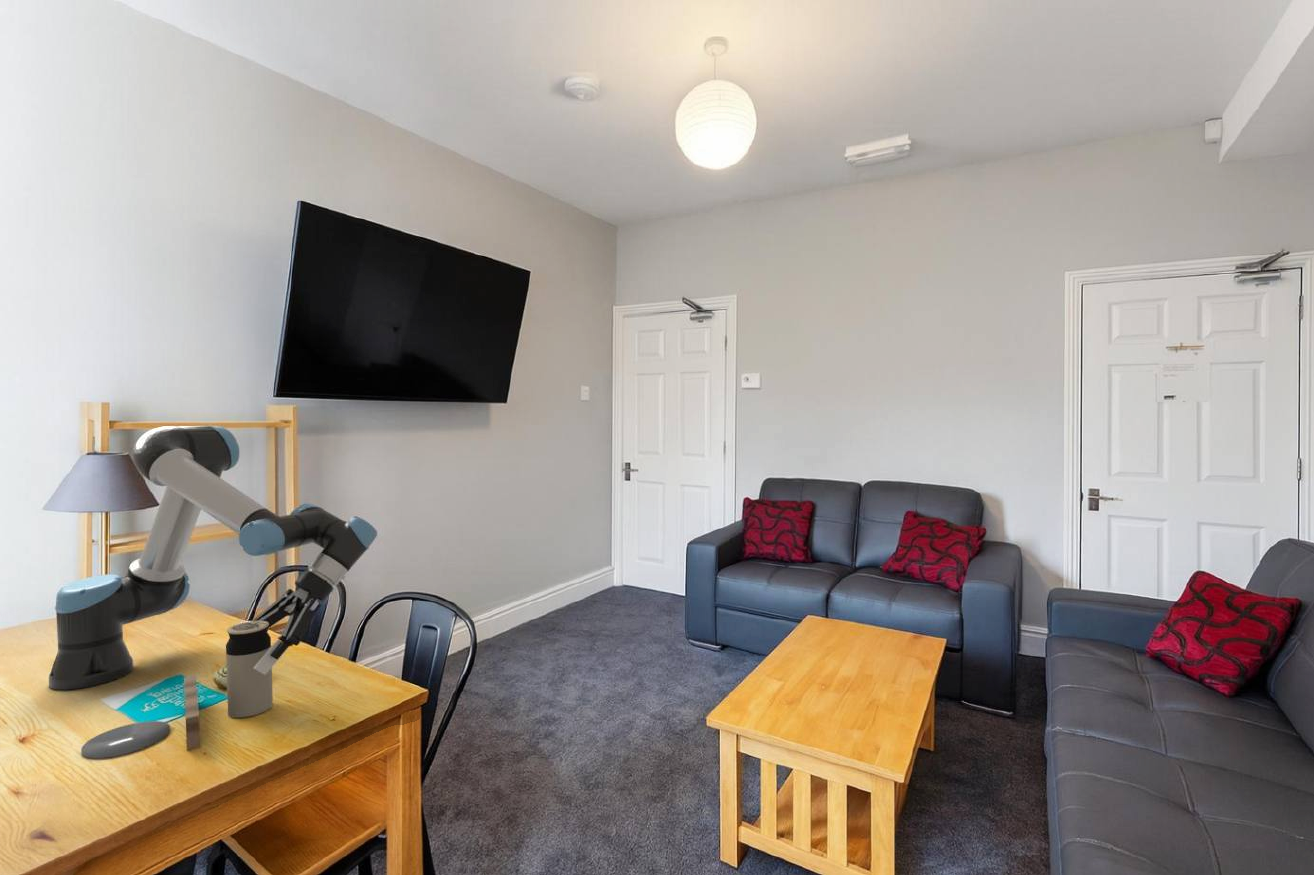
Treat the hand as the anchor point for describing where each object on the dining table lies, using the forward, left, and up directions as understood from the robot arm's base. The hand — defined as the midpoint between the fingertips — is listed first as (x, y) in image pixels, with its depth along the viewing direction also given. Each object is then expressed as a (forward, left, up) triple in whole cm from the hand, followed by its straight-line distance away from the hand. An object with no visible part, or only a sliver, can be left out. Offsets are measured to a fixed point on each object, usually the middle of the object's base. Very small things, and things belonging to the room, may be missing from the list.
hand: (247, 663), depth 132 cm
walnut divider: (-8, -5, -10) cm, 14 cm away
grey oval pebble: (-17, -11, -10) cm, 22 cm away
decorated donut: (-11, +16, -11) cm, 22 cm away
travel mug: (0, +1, -10) cm, 10 cm away
